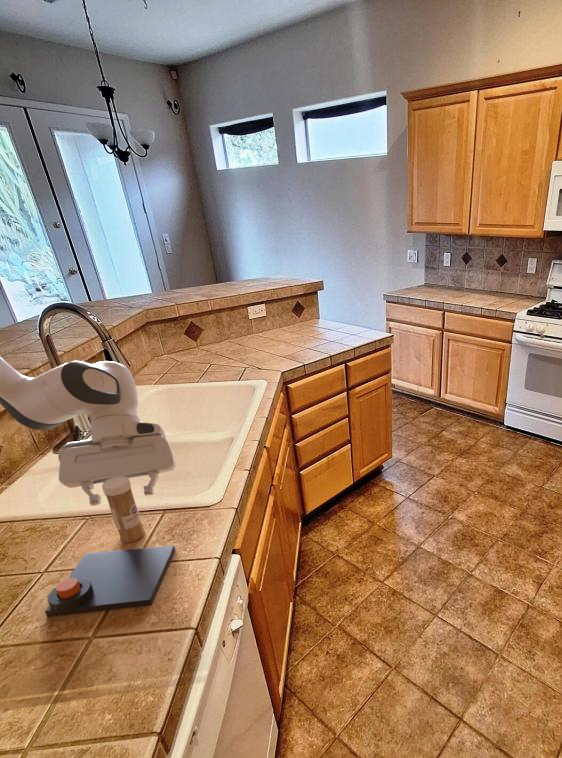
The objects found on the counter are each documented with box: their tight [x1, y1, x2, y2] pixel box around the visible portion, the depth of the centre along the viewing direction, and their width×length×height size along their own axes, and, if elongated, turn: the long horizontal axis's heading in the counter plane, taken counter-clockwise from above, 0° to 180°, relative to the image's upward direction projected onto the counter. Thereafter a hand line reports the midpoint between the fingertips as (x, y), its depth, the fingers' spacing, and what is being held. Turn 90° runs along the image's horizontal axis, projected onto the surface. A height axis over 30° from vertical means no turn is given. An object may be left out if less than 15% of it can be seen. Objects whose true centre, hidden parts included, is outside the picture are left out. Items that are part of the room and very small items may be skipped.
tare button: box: [55, 577, 81, 599], centre depth 72 cm, size 3×3×2 cm
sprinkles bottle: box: [101, 476, 146, 543], centre depth 86 cm, size 5×5×13 cm
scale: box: [44, 545, 177, 618], centre depth 77 cm, size 16×14×3 cm
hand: (123, 499), depth 86 cm, fingers open, 8 cm apart
